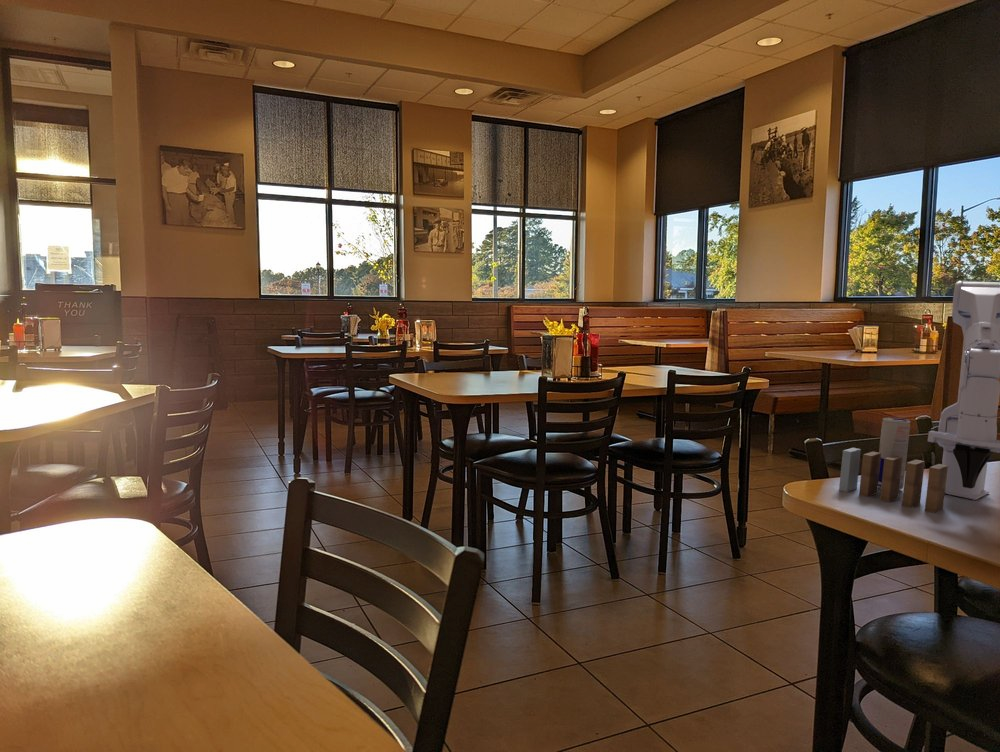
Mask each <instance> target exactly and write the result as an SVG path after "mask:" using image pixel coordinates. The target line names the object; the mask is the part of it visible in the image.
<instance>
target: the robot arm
mask: <svg viewBox="0 0 1000 752" xmlns="http://www.w3.org/2000/svg"><path fill="white" fill-rule="evenodd" d="M951 311H952V312H951V318H952V323H954V324H956V325H959V326H960V327H961V330H962V334H963V335H962V336H963V344H962V353H961V354H962V355H961V364H960V372H959V373H960V375H959V384H958V395H957V401H956V402H955V403H953V404H951V405H949V406H947V407H945V408H944V409H942V411H941V413H940V417H939V418H940V419H939V423H938V429H937V430H938V431H936V430H930V431H928V435H927V442H928V443H929V442H930V443H937V445H938V446H939V447H941V448H943V452H942V461H941V462H942V463H941V464H942V465H947V466H948V471H947V479H946V487H945V494H947V495H951V496H954V497H955V496H956V497H960V498H965V499H970V500H973V501H974V500H975V501H976V500H978V499H980V498H981V497H984V496H986V495H987V494H989V493H990V490H989V489H988V490H987V489H985V485H986V475H987V471H988V461H989V460H990V459H991V457H992V456H993V454H994V453H998V454H1000V440H999V439H997V438H998V437H997V436H998V435H997V434H998V426H997V424H998V423H997V422H998V418H997V416H998V410H999V403H1000V402H999V401H1000V281H999V282H997V281H962V280H958V281H957V282H956V283H955V284H954V290H953V296H952V310H951Z"/></svg>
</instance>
